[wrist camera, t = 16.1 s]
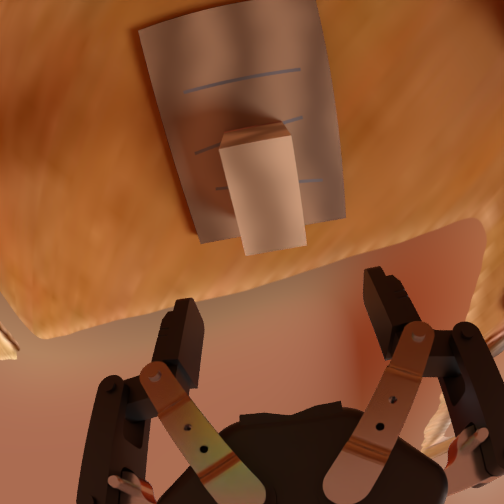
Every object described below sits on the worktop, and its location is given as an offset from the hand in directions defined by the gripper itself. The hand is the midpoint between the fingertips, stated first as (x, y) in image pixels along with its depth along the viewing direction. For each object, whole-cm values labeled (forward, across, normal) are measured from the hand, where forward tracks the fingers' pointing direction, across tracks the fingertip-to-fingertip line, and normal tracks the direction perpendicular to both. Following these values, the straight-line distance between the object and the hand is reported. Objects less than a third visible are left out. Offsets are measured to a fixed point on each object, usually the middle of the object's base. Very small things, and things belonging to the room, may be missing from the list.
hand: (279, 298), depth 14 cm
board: (+18, 0, -5) cm, 18 cm away
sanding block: (+16, 0, 0) cm, 16 cm away
